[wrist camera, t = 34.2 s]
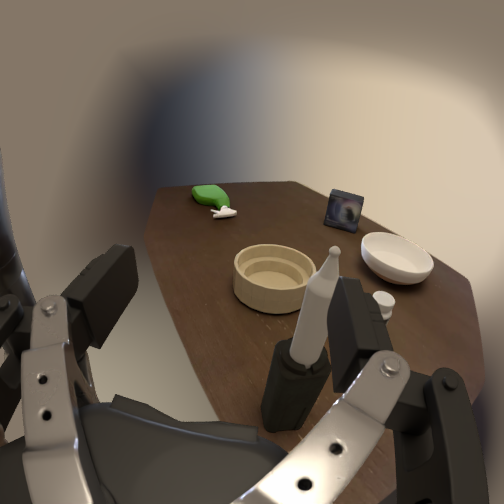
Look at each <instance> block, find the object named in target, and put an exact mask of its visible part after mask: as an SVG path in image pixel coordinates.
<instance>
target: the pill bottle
mask: <svg viewBox="0 0 504 504" xmlns="http://www.w3.org/2000/svg"><path fill="white" fill-rule="evenodd" d="M373 297H374V299H375V300H376V301H377V302H378V304H379V307H380V310H381V315H382V316H383V319H384V323H385V325H387V323H388V321H389V319H390V317H391V314H392V309H393V306H394V304H395V300H394V298H393V297H392V296H391V295H390V294H389V293H386V292H383V291H377V292H375V293H374V294H373Z"/></svg>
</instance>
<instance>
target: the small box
mask: <svg viewBox="0 0 504 504" xmlns="http://www.w3.org/2000/svg"><path fill="white" fill-rule="evenodd" d="M363 202H364V197H362V196H358V195H355V194H351V193H348V192H344V191H340V190H336V189H332V191H331V193H330V196H329V201H328V206H327V211H326V216H325V220H324V225H327V226H331V227H335V228H338V229H342V230H345V231H349V232H352V233H356V229H357V226H358V222H359V218H360V214H361V210H362V206H363Z"/></svg>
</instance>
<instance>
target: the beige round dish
mask: <svg viewBox="0 0 504 504" xmlns="http://www.w3.org/2000/svg"><path fill="white" fill-rule="evenodd" d="M315 273H316V268H315V265H314V263H313V262H312V261H311V259H310V258H308V257H307V256H306V255H305V254H303V253H301V252H299V251H297V250H295V249H292V248H289V247H286V246H281V245H274V244H260V245H255V246H250V247H248V248H246V249H243V250H242V251H240V252H239V253H238V254H237V255H236V258H235V261H234V271H233V289H234V293H235V295H236V296H237V297H238V298H239V300H240V301H241V302H243V303H244V304H246V305H247V306H249V307H251V308H253V309H256V310H259V311H261V312H266V313H274V314H280V313H290V312H293V311H295V310H298V309H300V308H301V307H302V303H303V299H304V295H305V291H306V286H307V282H308V280H309V278H310V277H311V276H313V275H314V274H315Z"/></svg>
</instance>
